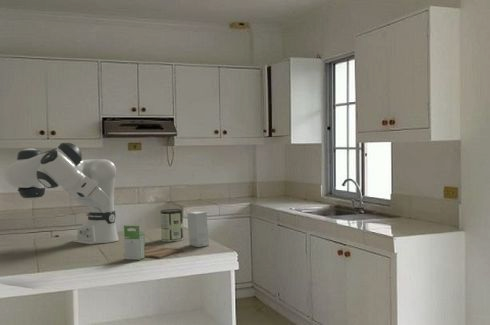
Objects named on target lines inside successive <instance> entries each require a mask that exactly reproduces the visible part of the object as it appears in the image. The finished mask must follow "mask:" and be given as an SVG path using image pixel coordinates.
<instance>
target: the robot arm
mask: <svg viewBox="0 0 490 325" xmlns="http://www.w3.org/2000/svg"><path fill="white" fill-rule="evenodd" d="M82 157H83V156H82V150H81V149H80V147H78V146H77V145H75V144H74V143H71V142H62V143H59V145H58V146H57V147H55V148H52V149H50V150H47V151H44V152H41V150H39V149H37V148H32V147H30V148H24V149H22V150H20V151H19V152H18V153H17V157H16V160H17V161H15V162H13V163H11V164H9V165H8V166H7V168H5V171H4V178H5V181H6V182H7V183H8V184H9V185H11V186H13V187H16V188H17V192H18V193H19V195H20V196H21V197H22V199H25V200H29V201H30V200H38V199H40V198H43V197H44V196H45V193H46V188H47V189H54V188H55V189H56V188H58V187H59V186H61V187H62V189H63V190H64V191H65V193H67V194H68V195H69V196H70V197H71V198H72V199H73V200H74V199H75V201H76V202H78V203H79V204H80V205H81V206H86V207H87V206H88V207H89V210H90V211H89V212H88V213H86V214H85V216H86V217H87V219H86V221H85V222H84V223H83V224H82V225H80V226H79V227H78V229H77V235H76V237H75V238H73V239H72V240H71V241H72V242H73V243H79V244H84V245H85V244H86V245H95V244H105V243H108V244H109V243H112V242H113V243H114V242H118V241H119V240H120V239H119V234H118V230H117V225H116V218H117V217H116V215H117V214H116V210H115V185H116V175H117V167H116V165H115V163H113V162H112V161H111V160H110V159H106V158H104V159H103V158H94V159H90V158H89V159H83V158H82Z"/></svg>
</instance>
